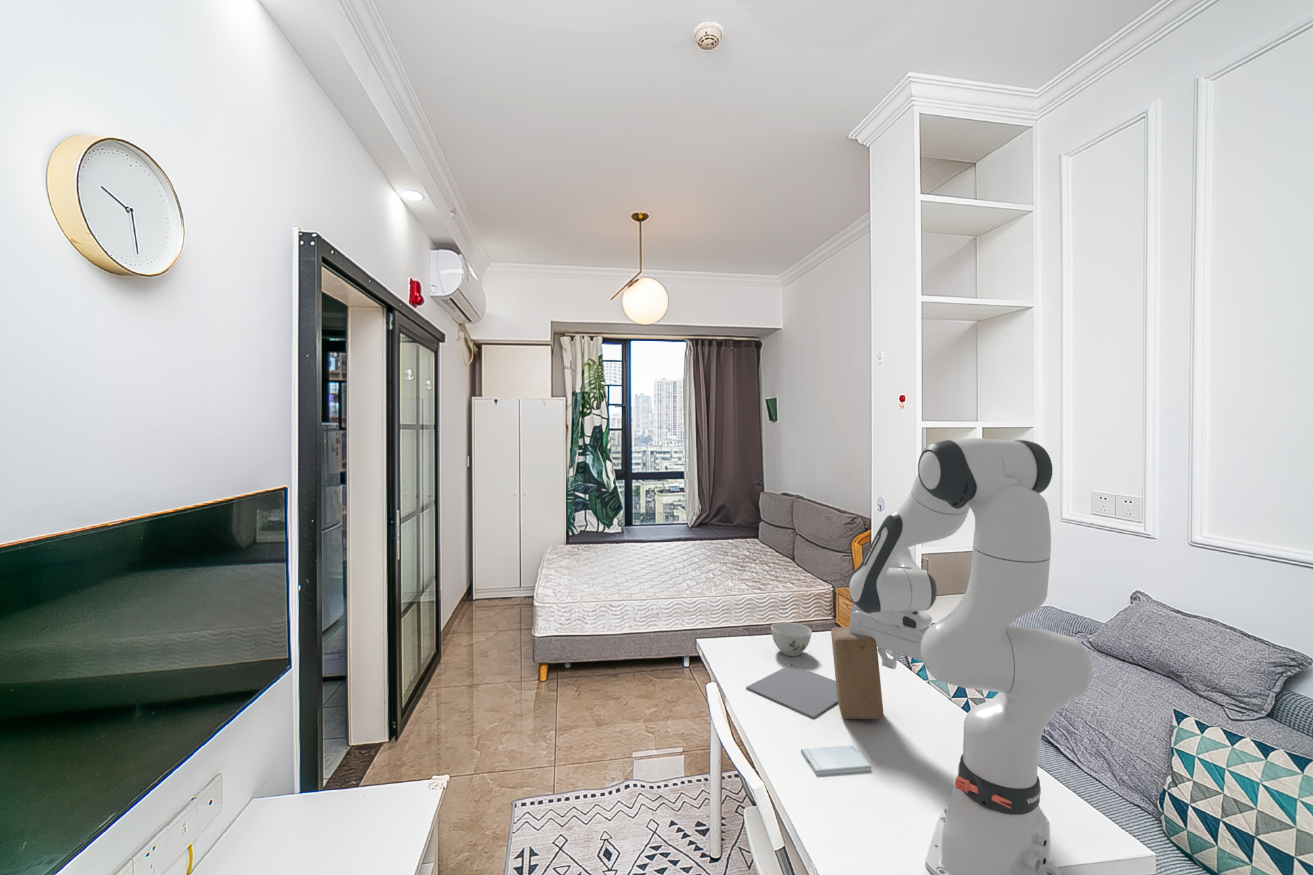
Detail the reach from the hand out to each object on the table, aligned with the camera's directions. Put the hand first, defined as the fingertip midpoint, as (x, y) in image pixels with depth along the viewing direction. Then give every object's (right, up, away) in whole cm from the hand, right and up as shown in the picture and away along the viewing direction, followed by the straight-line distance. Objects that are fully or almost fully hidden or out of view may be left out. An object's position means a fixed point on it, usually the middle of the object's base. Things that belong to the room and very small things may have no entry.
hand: (889, 666), depth 138 cm
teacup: (-14, -13, +44) cm, 48 cm away
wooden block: (-5, -14, +5) cm, 16 cm away
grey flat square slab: (-17, -14, +18) cm, 28 cm away
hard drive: (-18, -15, -15) cm, 28 cm away
